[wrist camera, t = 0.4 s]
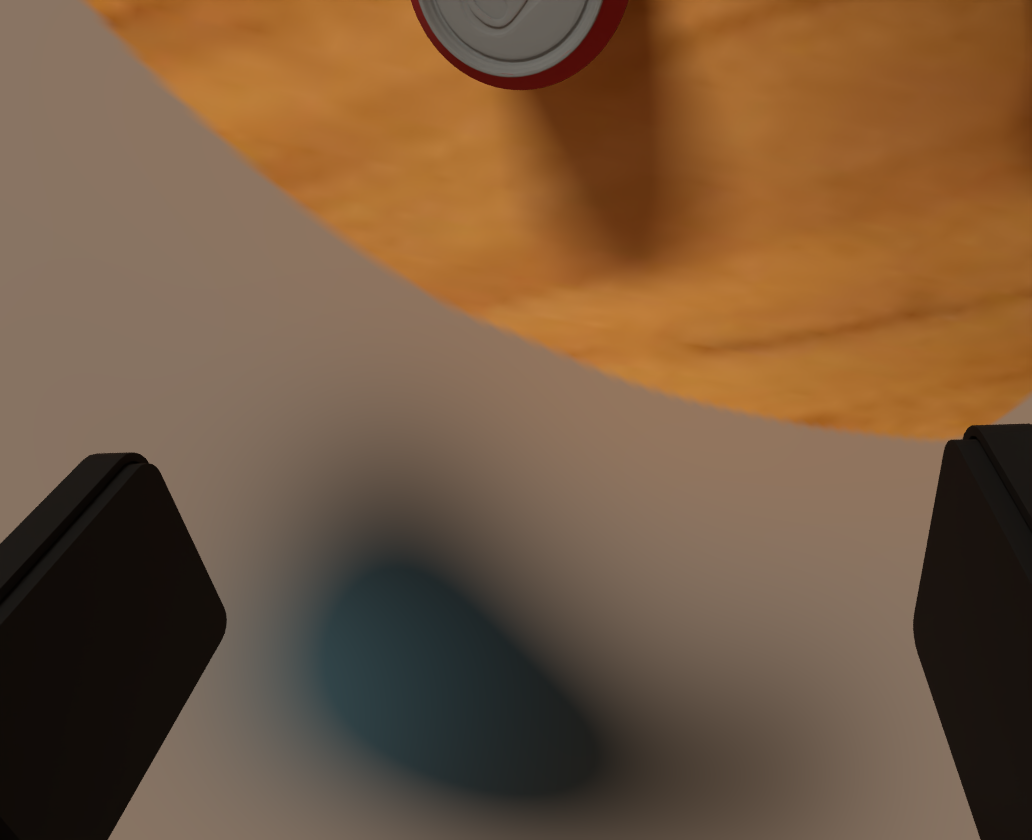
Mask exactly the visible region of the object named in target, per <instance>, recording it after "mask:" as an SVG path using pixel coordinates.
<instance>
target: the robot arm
mask: <svg viewBox="0 0 1032 840" xmlns="http://www.w3.org/2000/svg"><path fill="white" fill-rule="evenodd" d="M226 621H227V619H226V612H225V609H224V606H223V604H222V602H221V600H220V598H219V596H218V594H217V592H216V590H215V587H214V585H213V583H212V581H211V579H210V577H209V575H208V573H207V570H206V568H205V566H204V564H203V562H202V560H201V558H200V556H199V554H198V551H197V549H196V547H195V545H194V543H193V541H192V539H191V537H190V534H189V533H188V530H187V528H186V526H185V524H184V522H183V520H182V517H181V515H180V513H179V511H178V509H177V507H176V505H175V503H174V500H173V498H172V496H171V494H170V492H169V490H168V488H167V486H166V484H165V481H164V479H163V477H162V475H161V473H160V471H159V470H158V468H157V467H155V466H154V465H153V464H149V463H148V461H147V460H146V458H144V457H143V456H142V455H140V454H137V453H104V454H93V455H89V456H88V457H87V458H85V459H84V460H83V461H82V462H81V463H80V464H79V465H78V466H77V467H76V468H75V469H74V470H73V471H72V472H71V473H70V474H69V475H68V476H67V477H66V478H65V479H64V480H63V481H62V482H61V483H60V484H59V485H58V486H57V487H56V488H55V489H54V490H53V491H52V492H51V493H50V494H49V495H48V496H47V497H46V498H45V499H44V500H43V501H42V502H41V503H40V504H39V506H37V507H36V508H35V509H34V510H33V511H32V512H31V513H30V514H29V515H28V516H27V517H26V518H25V519H24V520H23V521H22V523H20V525H19V526H18V527H17V528H16V529H15V530H14V531H13V532H12V533H11V534H10V535H9V536H8V537H7V538H6V539H5V540H4V541H3V542H2V543H1V544H0V840H108V838H109V836H110V835H111V833H112V831H113V829H114V828H115V826H116V824H117V822H118V820H119V819H120V817H121V815H122V814H123V812H124V810H125V808H126V807H127V805H128V803H129V801H130V800H131V798H132V796H133V794H134V792H135V791H136V789H137V787H138V785H139V784H140V782H141V780H142V779H143V777H144V775H145V773H146V771H147V770H148V768H149V766H150V765H151V763H152V761H153V759H154V758H155V756H156V754H157V752H158V750H159V749H160V747H161V745H162V743H163V742H164V740H165V738H166V737H167V735H168V733H169V731H170V730H171V728H172V726H173V724H174V722H175V721H176V719H177V717H178V715H179V714H180V712H181V710H182V708H183V706H184V705H185V703H186V701H187V700H188V698H189V696H190V694H191V693H192V691H193V689H194V687H195V686H196V684H197V682H198V680H199V679H200V677H201V675H202V673H203V672H204V670H205V668H206V666H207V665H208V663H209V661H210V659H211V658H212V656H213V654H214V652H215V651H216V649H217V647H218V645H219V644H220V642H221V640H222V638H223V636H224V634H225V629H226ZM913 630H914V639H915V645H916V649H917V652H918V655H919V658H920V661H921V664H922V667H923V670H924V673H925V676H926V679H927V682H928V685H929V688H930V691H931V694H932V697H933V700H934V703H935V706H936V709H937V712H938V714H939V718H940V720H941V723H942V727H943V730H944V732H945V735H946V738H947V741H948V744H949V747H950V750H951V753H952V756H953V759H954V762H955V765H956V768H957V771H958V773H959V777H960V780H961V783H962V786H963V789H964V792H965V794H966V797H967V801H968V803H969V806H970V809H971V812H972V815H973V818H974V821H975V824H976V827H977V830H978V833H979V836H980V839H981V840H1032V425H1031V424H1007V425H1006V424H1005V425H1004V424H1003V425H972V426H970V427H969V428H968V429H967V430H966V432H965V433H964V437H963V440H950V441H948V442H947V444H946V446H945V450H944V454H943V459H942V465H941V470H940V475H939V481H938V487H937V492H936V497H935V503H934V508H933V514H932V519H931V525H930V530H929V536H928V541H927V548H926V552H925V558H924V563H923V569H922V574H921V580H920V585H919V591H918V597H917V601H916V607H915V613H914V620H913Z"/></svg>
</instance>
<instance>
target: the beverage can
mask: <svg viewBox="0 0 1032 840" xmlns="http://www.w3.org/2000/svg"><path fill="white" fill-rule="evenodd" d="M411 2H412V5H413V8H414V11H415V13H416V16H417V18H418V20H419V22H420V24H421V26H422V28H423V30H424V31H425V33H426V35H427V36H428V38H429V39H430V41H431V42H432V43H433V45H434V46H435V47H436V48H437V50H438V51H439V52H440V53H441V54H442V55H443V56H444V57H445V58H446V59H447V60H448V61H449V62H450V63H451V64H452V65H454V66H455V67H456V68H458V69H459V70H460V71H462V72H463V73H465V74H466V75H468V76H470V77H472V78H474V79H476V80H478V81H480V82H482V83H485V84H487V85H491V86H494V87H498V88H503V89H511V90H530V89H537V88H543V87H546V86H550V85H553V84H556V83H558V82H561V81H563V80H565V79H567V78H569V77H571V76H572V75H574V74H576V73H577V72H579V71H580V70H581V69H583V68H584V67H585V66H587V65H588V64H589V63H590V62H591V61H592V60H593V59H594V58H595V57H596V56H597V55H598V54H599V53H600V52H601V51H602V49H603V48H604V47H605V46H606V44H607V43H608V42H609V40H610V39H611V37H612V36H613V34H614V32H615V31H616V29H617V27H618V25H619V23H620V21H621V19H622V16H623V14H624V11H625V9H626V6H627V3H628V0H411Z"/></svg>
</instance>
